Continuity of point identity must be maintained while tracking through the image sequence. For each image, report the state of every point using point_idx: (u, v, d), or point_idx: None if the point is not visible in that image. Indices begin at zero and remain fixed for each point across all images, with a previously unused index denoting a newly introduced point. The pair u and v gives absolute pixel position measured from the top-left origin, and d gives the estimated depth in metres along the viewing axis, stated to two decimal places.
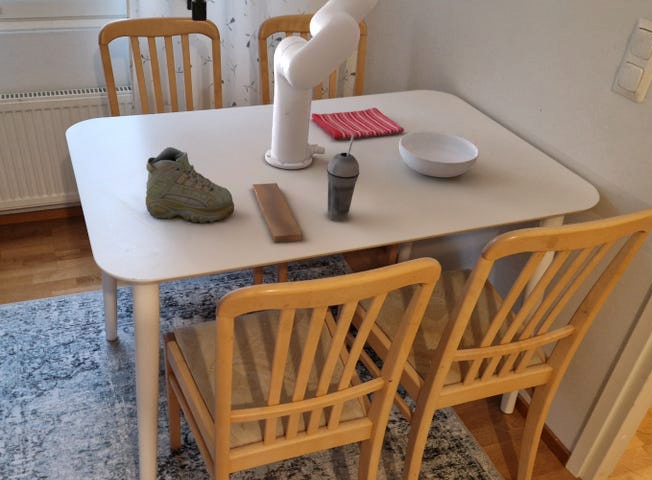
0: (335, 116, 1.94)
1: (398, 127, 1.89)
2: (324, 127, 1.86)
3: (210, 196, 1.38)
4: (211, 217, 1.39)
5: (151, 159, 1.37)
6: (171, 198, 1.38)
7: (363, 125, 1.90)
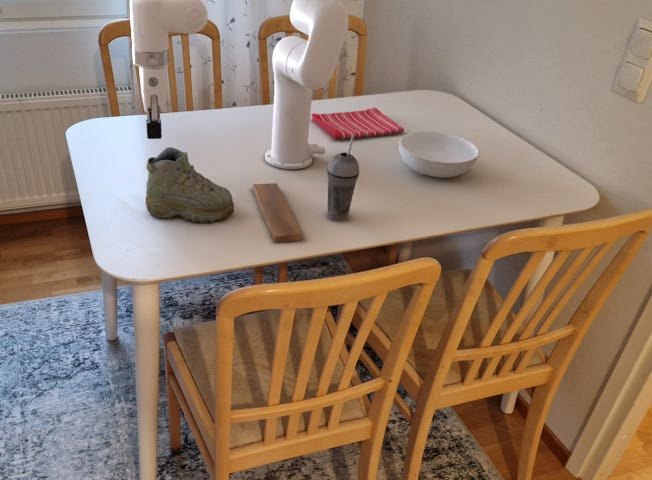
0: (335, 116, 1.94)
1: (398, 127, 1.89)
2: (324, 127, 1.86)
3: (210, 196, 1.38)
4: (211, 217, 1.39)
5: (151, 159, 1.37)
6: (171, 198, 1.38)
7: (363, 125, 1.90)
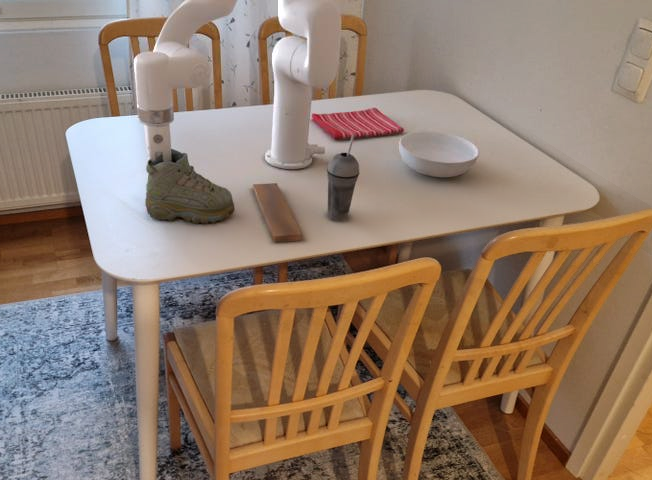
0: (335, 116, 1.94)
1: (398, 127, 1.89)
2: (324, 127, 1.86)
3: (211, 197, 1.38)
4: (212, 218, 1.39)
5: (150, 161, 1.36)
6: (172, 200, 1.37)
7: (363, 125, 1.90)
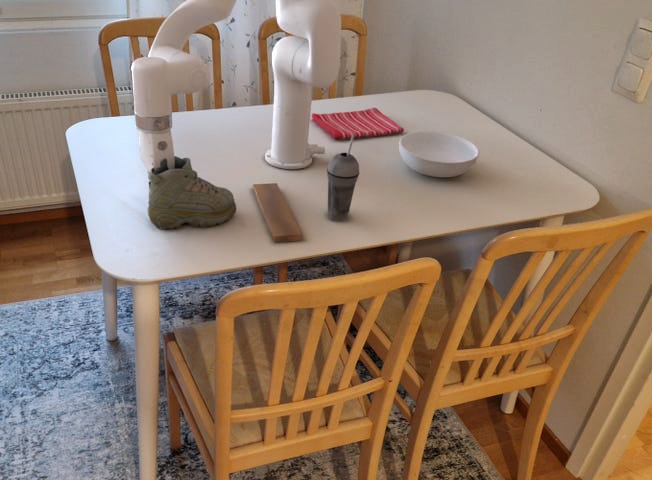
0: (335, 116, 1.94)
1: (398, 127, 1.89)
2: (324, 127, 1.86)
3: (217, 199, 1.37)
4: (219, 219, 1.39)
5: (152, 170, 1.32)
6: (179, 207, 1.35)
7: (363, 125, 1.90)
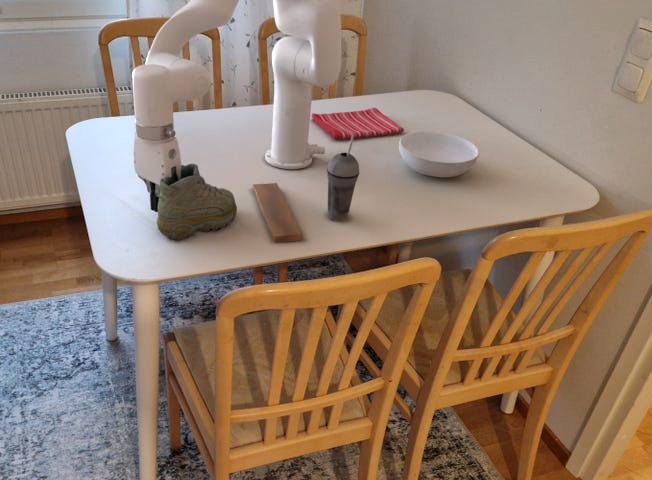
0: (335, 116, 1.94)
1: (398, 127, 1.89)
2: (324, 127, 1.86)
3: (224, 200, 1.37)
4: (227, 220, 1.39)
5: None
6: (191, 214, 1.33)
7: (363, 125, 1.90)
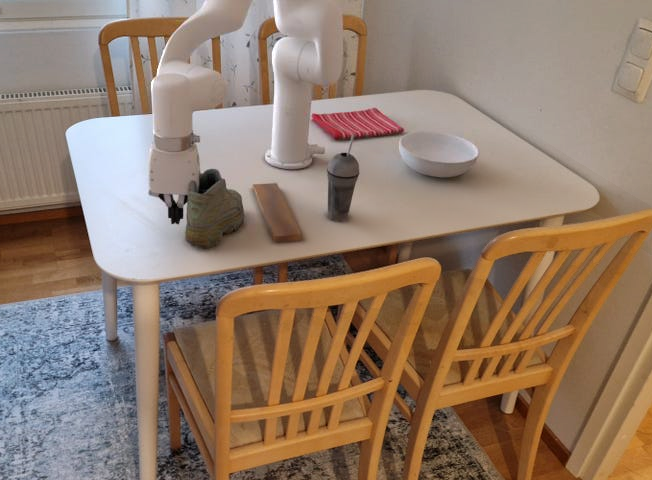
0: (335, 116, 1.94)
1: (398, 127, 1.89)
2: (324, 127, 1.86)
3: (238, 199, 1.38)
4: (242, 217, 1.40)
5: None
6: (220, 219, 1.32)
7: (363, 125, 1.90)
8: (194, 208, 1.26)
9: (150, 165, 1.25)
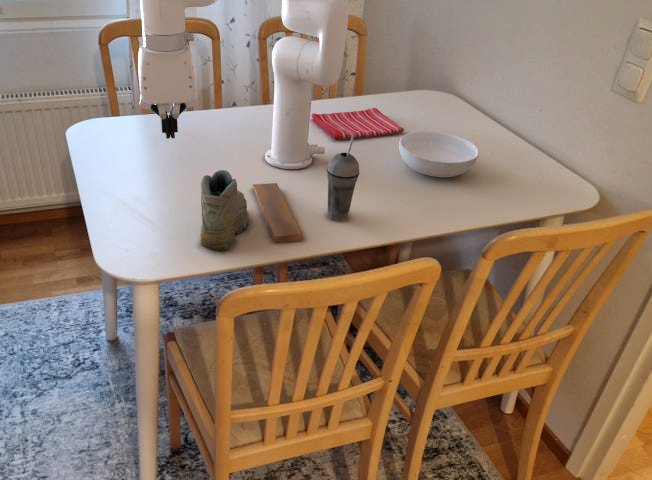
0: (335, 116, 1.94)
1: (398, 127, 1.89)
2: (324, 127, 1.86)
3: (243, 197, 1.38)
4: None
5: None
6: (233, 219, 1.32)
7: (363, 125, 1.90)
8: (211, 211, 1.26)
9: (142, 71, 1.14)
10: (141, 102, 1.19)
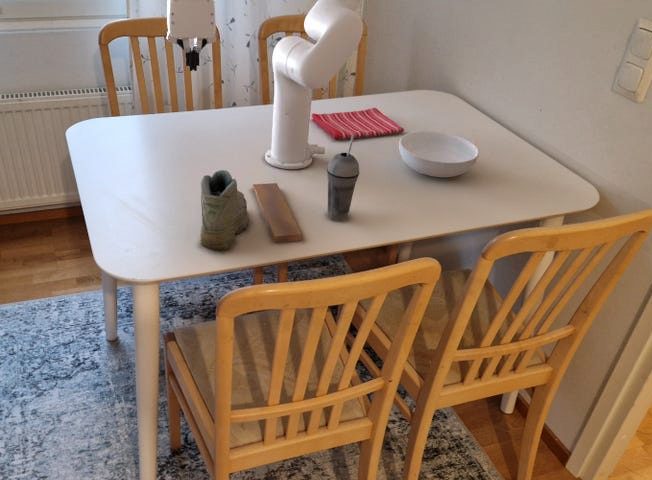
0: (335, 116, 1.94)
1: (398, 127, 1.89)
2: (324, 127, 1.86)
3: (243, 197, 1.38)
4: None
5: None
6: (233, 219, 1.32)
7: (363, 125, 1.90)
8: (211, 211, 1.26)
9: (171, 7, 1.32)
10: (168, 36, 1.36)
